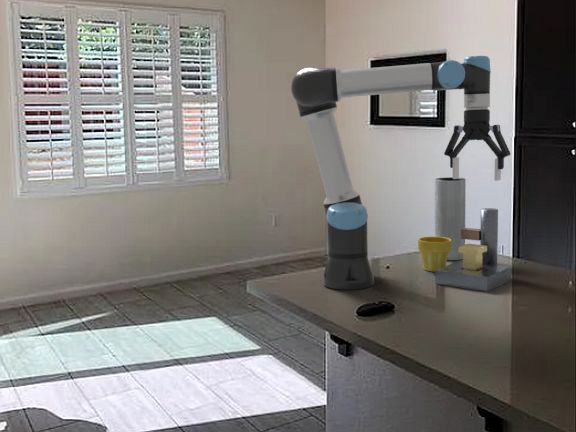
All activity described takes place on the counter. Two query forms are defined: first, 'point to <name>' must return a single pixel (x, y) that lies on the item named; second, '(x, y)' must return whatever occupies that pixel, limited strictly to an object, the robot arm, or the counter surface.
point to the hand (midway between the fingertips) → (476, 179)
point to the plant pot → (434, 252)
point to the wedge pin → (472, 256)
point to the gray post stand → (490, 271)
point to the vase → (450, 212)
